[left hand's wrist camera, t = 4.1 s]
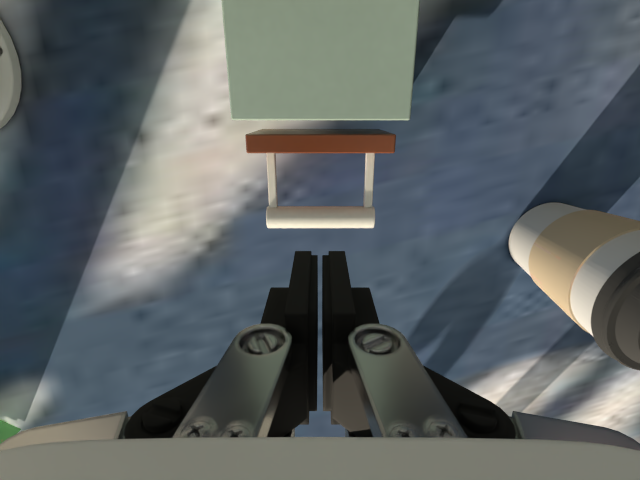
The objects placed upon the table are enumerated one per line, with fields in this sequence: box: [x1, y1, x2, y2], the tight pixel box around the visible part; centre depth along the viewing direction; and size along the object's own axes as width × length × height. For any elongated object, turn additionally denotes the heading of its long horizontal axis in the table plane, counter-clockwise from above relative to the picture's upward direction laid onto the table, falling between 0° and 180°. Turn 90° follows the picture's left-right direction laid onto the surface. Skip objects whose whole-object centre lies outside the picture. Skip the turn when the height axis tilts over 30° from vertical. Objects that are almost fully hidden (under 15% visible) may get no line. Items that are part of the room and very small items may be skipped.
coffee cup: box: [509, 202, 640, 370], centre depth 26 cm, size 9×9×15 cm
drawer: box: [246, 129, 396, 228], centre depth 25 cm, size 24×10×7 cm, turn 0°
